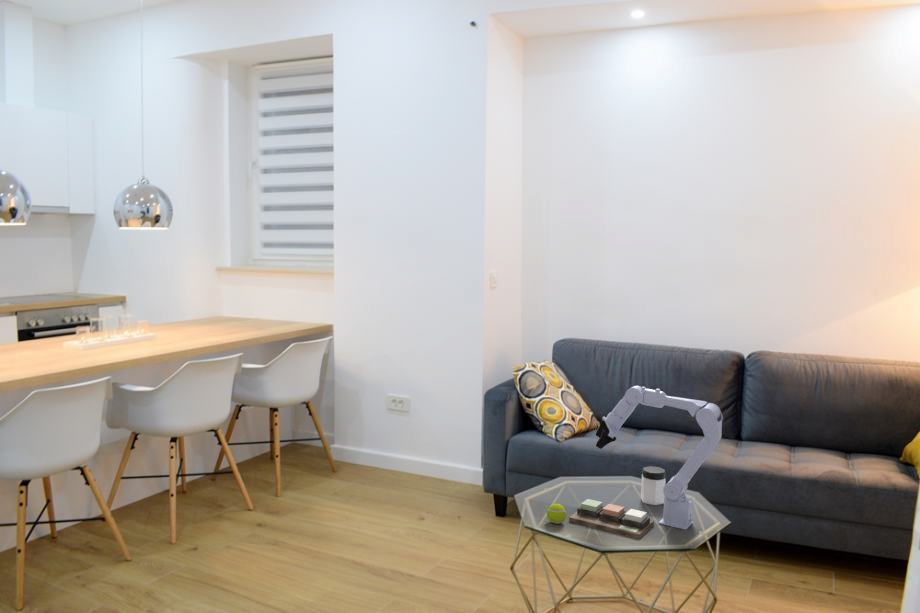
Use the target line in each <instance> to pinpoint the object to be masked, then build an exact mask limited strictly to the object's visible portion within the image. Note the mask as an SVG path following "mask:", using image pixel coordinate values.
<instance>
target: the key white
mask: <svg viewBox="0 0 920 613" xmlns="http://www.w3.org/2000/svg"><path fill="white" fill-rule="evenodd" d="M647 514H648V513H647V511H643V510H639V509H635V508H630V509H629V510H627V513H625V519H627V520H631V521H635V522H640V523H642V522H643V521H644V520H645V519H646V518H647V516H648V515H647Z"/></svg>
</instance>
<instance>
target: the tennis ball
mask: <svg viewBox="0 0 920 613" xmlns="http://www.w3.org/2000/svg"><path fill="white" fill-rule="evenodd" d="M566 510H567V509H565V507H564V506H563V505H562V504H560V503H552V504H550V505H549V506H548V508H547V510H546V518H547V519H548V521H549V522H550V523H552V524H554V525H559V524H562V523H563V522H564V521H566V518H567V511H566Z"/></svg>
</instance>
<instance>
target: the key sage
mask: <svg viewBox="0 0 920 613" xmlns="http://www.w3.org/2000/svg"><path fill="white" fill-rule="evenodd" d="M580 506H581V509H585V510H589V511H593V512H597V511H599V510H600V509H601V508H602V506H603V501H598V500H595V499H592V498H591V499H590V498H587V499H585V500H584V501H582V502H581V504H580Z"/></svg>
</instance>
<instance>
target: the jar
mask: <svg viewBox="0 0 920 613" xmlns="http://www.w3.org/2000/svg"><path fill="white" fill-rule="evenodd" d="M640 483H641V485H640V487H641V488H640V500H641V501H642V504H647V505H652V506H658V505H664V493H663V487H664V485H665V484H666V483H667V482H666V469H664V468H662V467H659V466H650V465H649V466H644V467H642V473H641V482H640Z"/></svg>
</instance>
